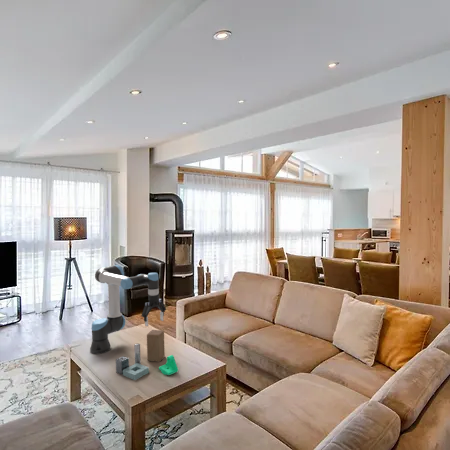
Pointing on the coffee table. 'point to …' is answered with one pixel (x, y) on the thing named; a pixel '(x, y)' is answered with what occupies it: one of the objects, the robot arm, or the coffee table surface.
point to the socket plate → (135, 371)
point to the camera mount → (169, 366)
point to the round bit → (137, 353)
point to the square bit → (121, 364)
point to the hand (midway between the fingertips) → (154, 323)
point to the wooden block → (155, 345)
